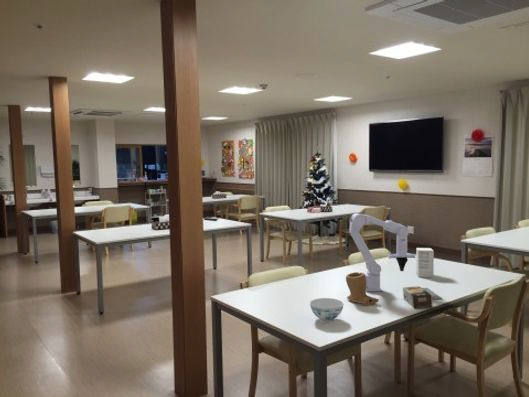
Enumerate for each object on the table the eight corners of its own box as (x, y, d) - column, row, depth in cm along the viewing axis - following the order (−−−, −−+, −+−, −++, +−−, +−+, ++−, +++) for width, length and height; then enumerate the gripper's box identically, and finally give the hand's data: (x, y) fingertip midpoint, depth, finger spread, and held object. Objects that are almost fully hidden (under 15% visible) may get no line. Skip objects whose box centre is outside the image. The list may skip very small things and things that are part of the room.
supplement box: (433, 277, 266) (434, 250, 265) (418, 277, 268) (418, 250, 267) (431, 274, 276) (431, 247, 274) (415, 273, 277) (416, 247, 276)
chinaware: (309, 325, 190) (309, 307, 190) (310, 313, 205) (310, 297, 204) (344, 326, 188) (343, 308, 187) (343, 314, 202) (343, 298, 202)
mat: (421, 299, 223) (421, 298, 223) (407, 289, 243) (407, 288, 243) (442, 299, 223) (442, 298, 223) (426, 288, 243) (426, 287, 243)
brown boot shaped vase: (341, 300, 224) (340, 272, 223) (358, 296, 230) (358, 268, 229) (362, 308, 211) (362, 278, 210) (379, 304, 217) (379, 274, 216)
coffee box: (419, 285, 225) (432, 294, 209) (420, 297, 225) (433, 307, 209) (402, 287, 225) (413, 296, 209) (403, 299, 225) (414, 309, 209)
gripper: (390, 248, 237) (390, 272, 238) (417, 247, 237) (417, 272, 238) (387, 246, 244) (387, 269, 245) (412, 245, 244) (412, 269, 245)
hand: (401, 270), depth 242 cm, fingers closed
